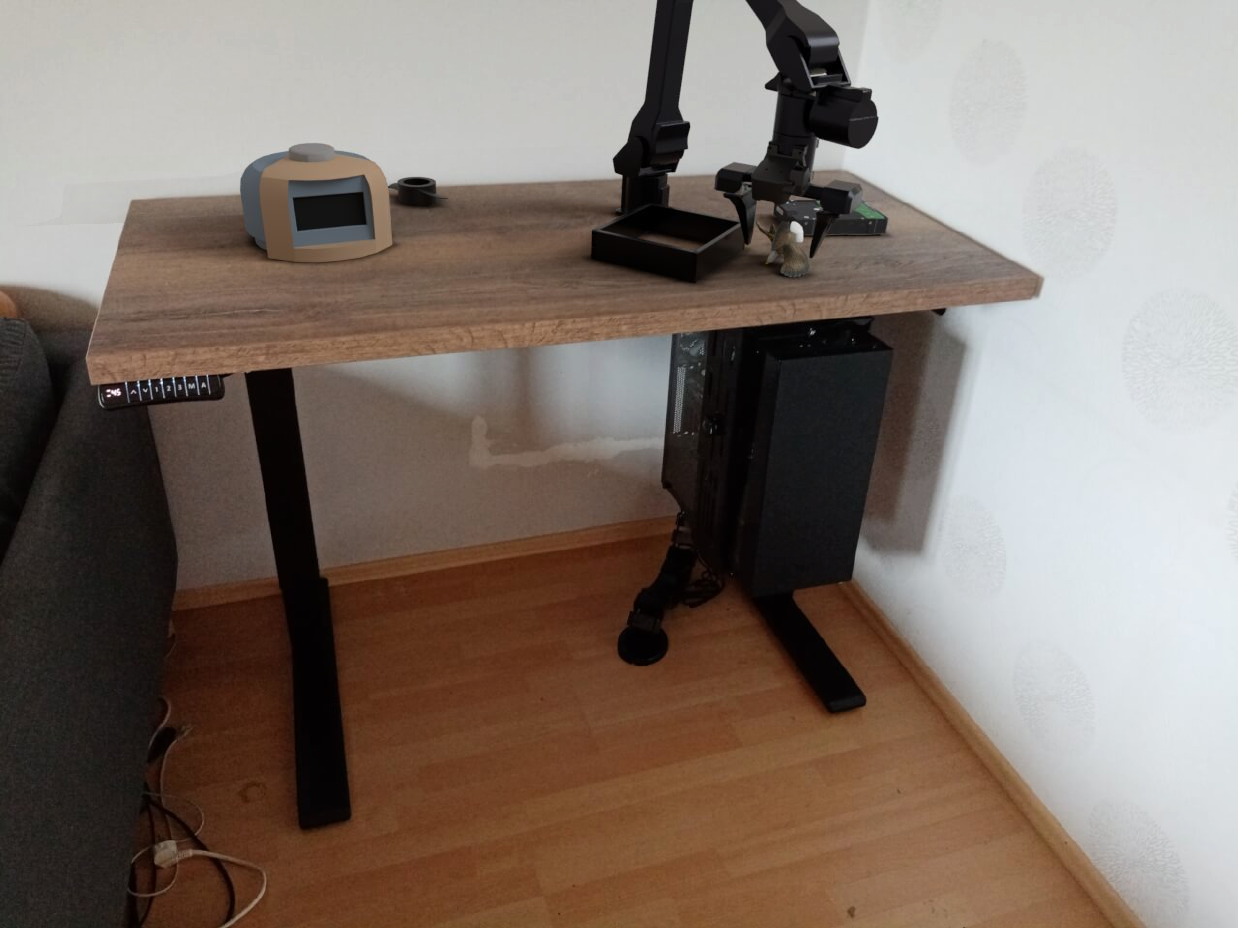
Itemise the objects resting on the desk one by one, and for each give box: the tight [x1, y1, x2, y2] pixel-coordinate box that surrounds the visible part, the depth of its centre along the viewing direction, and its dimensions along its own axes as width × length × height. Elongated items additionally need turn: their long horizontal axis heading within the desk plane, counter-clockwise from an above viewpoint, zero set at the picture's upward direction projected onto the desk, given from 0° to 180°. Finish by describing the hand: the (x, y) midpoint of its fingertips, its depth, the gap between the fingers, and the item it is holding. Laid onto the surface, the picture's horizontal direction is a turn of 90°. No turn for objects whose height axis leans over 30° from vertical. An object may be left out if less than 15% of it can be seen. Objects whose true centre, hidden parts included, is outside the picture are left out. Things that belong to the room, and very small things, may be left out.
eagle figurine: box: [755, 221, 810, 278], centre depth 132 cm, size 8×7×9 cm
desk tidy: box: [590, 202, 746, 284], centre depth 134 cm, size 16×17×4 cm
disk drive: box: [772, 199, 889, 236], centre depth 150 cm, size 10×3×15 cm
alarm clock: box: [239, 142, 393, 263], centre depth 131 cm, size 19×20×12 cm
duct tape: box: [388, 176, 449, 207], centre depth 150 cm, size 8×10×3 cm
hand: (779, 251), depth 132 cm, fingers open, 9 cm apart
